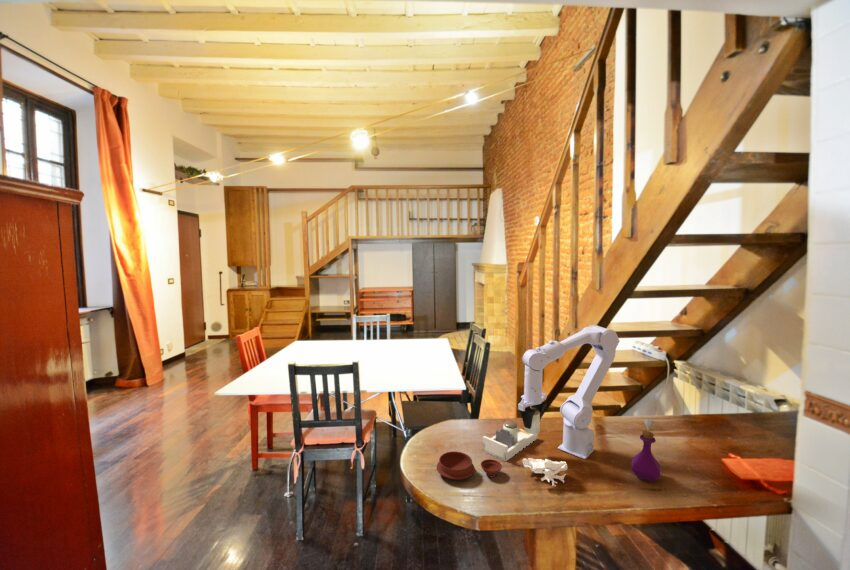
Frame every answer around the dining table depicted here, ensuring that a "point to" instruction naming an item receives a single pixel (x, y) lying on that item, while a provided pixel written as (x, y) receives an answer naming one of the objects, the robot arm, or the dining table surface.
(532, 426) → the jar
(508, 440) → the pusher
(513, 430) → the stocked jar
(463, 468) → the pottery
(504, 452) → the tray
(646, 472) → the perfume bottle
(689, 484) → the dining table surface
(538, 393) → the robot arm
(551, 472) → the white irregular branching piece
